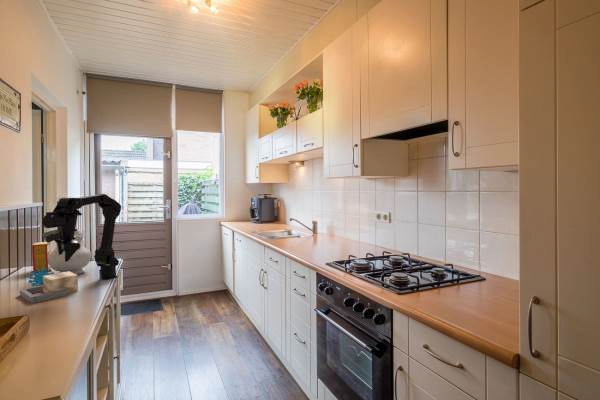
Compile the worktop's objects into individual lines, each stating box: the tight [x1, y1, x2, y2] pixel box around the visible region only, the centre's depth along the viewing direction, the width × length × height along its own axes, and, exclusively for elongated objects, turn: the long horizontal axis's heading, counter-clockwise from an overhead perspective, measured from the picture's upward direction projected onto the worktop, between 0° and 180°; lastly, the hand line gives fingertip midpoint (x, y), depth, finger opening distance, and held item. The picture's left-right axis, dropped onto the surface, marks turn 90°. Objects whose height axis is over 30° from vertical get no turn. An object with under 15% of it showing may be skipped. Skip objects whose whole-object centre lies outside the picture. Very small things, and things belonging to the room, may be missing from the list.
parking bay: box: [18, 284, 68, 304], centre depth 140 cm, size 12×18×2 cm
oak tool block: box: [42, 271, 79, 294], centre depth 145 cm, size 10×11×8 cm
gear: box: [28, 268, 55, 287], centre depth 157 cm, size 11×6×10 cm
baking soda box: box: [31, 241, 52, 274], centre depth 184 cm, size 10×6×16 cm
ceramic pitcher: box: [48, 228, 92, 276], centre depth 176 cm, size 22×20×25 cm
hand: (63, 258), depth 147 cm, fingers open, 9 cm apart
